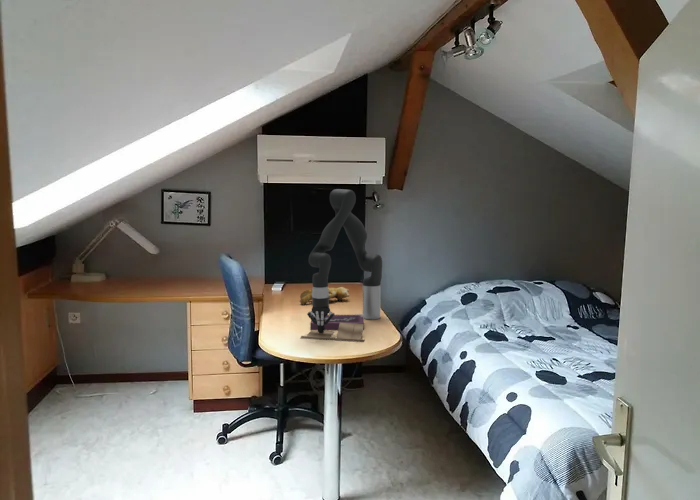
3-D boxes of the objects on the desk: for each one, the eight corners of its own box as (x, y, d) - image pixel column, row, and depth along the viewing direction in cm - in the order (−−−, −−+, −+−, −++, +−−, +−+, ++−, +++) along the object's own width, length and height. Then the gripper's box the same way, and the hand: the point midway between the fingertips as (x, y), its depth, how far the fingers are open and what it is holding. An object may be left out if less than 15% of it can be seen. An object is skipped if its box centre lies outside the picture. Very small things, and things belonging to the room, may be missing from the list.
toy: (301, 310, 310) (352, 304, 318) (300, 295, 307) (352, 289, 314) (297, 299, 323) (345, 294, 331) (296, 285, 320) (345, 280, 327)
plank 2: (340, 324, 249) (339, 322, 248) (363, 325, 247) (363, 323, 246) (336, 339, 243) (336, 338, 242) (360, 341, 240) (360, 339, 240)
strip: (301, 339, 245) (301, 335, 245) (364, 343, 239) (364, 339, 239) (299, 341, 242) (299, 337, 242) (363, 345, 236) (363, 341, 236)
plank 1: (311, 332, 254) (311, 329, 253) (334, 333, 251) (334, 331, 251) (306, 339, 245) (305, 336, 245) (329, 340, 243) (329, 337, 243)
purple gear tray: (363, 324, 272) (363, 314, 271) (364, 333, 256) (364, 322, 255) (312, 324, 272) (312, 314, 271) (310, 333, 256) (310, 323, 255)
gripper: (336, 294, 249) (337, 331, 252) (308, 293, 252) (309, 329, 255) (332, 298, 242) (333, 335, 245) (304, 297, 245) (305, 334, 247)
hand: (321, 332), depth 250 cm, fingers closed
